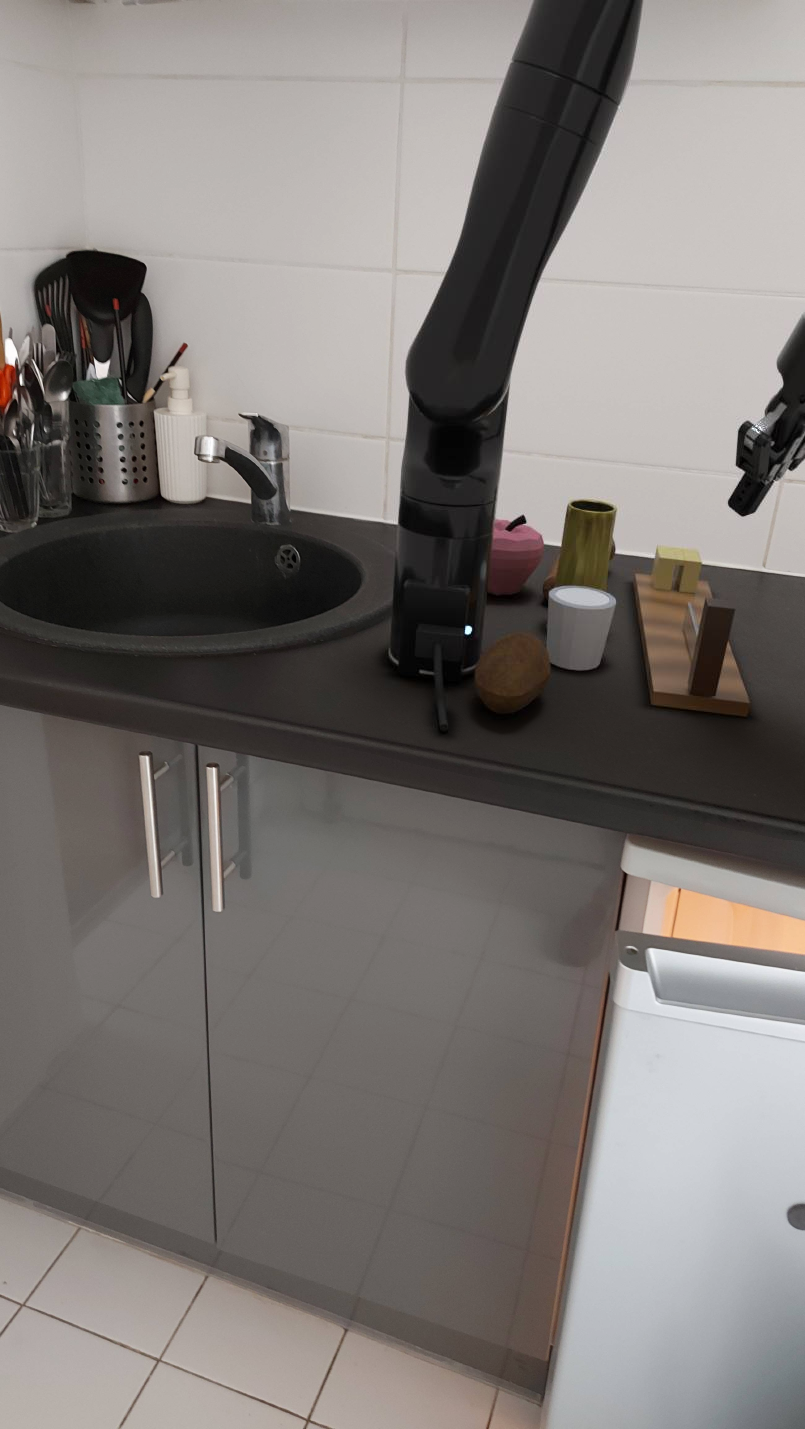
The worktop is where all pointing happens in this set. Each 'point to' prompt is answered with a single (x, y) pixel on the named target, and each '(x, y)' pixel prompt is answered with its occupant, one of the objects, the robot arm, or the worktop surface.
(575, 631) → the white cup
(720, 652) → the dark brown upright post
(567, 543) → the vase
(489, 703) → the potato
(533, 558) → the apple
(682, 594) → the cutting board
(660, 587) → the yellow slotted block
